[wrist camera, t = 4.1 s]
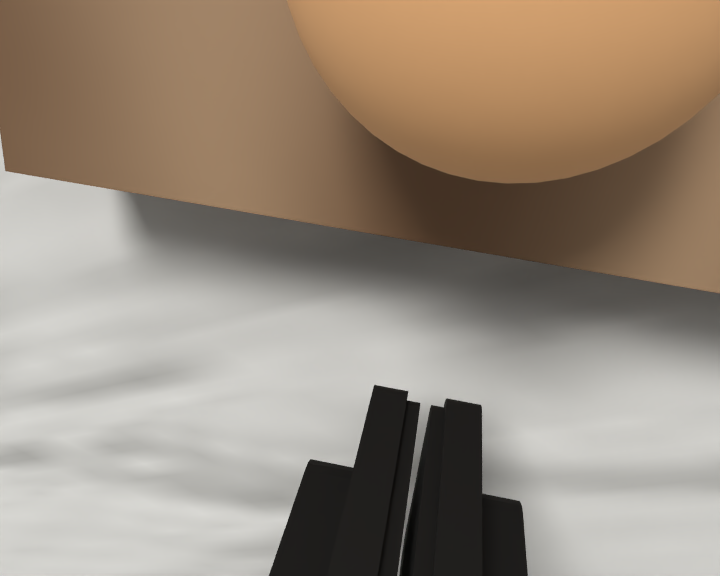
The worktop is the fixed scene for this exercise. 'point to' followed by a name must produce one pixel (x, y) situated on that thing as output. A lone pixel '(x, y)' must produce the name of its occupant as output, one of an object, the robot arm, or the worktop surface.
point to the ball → (516, 77)
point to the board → (317, 142)
